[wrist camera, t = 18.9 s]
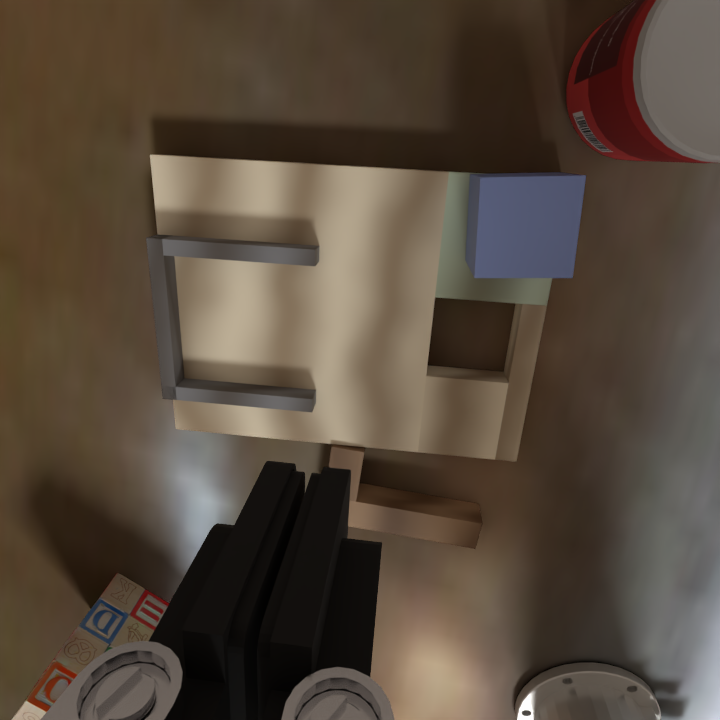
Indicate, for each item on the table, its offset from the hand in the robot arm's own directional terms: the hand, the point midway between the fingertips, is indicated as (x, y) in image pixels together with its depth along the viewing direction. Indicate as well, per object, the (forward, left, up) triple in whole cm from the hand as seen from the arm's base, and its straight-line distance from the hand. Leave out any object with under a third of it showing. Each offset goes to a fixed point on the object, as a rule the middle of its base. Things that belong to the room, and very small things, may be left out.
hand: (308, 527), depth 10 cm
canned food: (-14, -11, -26) cm, 32 cm away
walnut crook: (-3, +17, -26) cm, 31 cm away
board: (+2, +3, -26) cm, 26 cm away
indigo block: (-8, -4, -24) cm, 25 cm away
